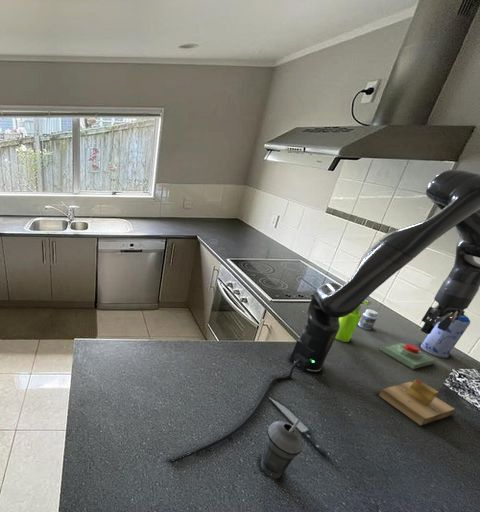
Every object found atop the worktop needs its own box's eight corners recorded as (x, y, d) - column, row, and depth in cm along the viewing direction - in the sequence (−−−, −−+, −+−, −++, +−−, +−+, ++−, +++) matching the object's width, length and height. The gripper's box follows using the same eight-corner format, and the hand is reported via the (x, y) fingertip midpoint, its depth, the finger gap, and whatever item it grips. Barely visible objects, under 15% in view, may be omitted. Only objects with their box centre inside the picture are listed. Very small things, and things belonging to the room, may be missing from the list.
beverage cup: (275, 453, 75) (299, 400, 67) (294, 484, 69) (323, 429, 61) (249, 453, 75) (270, 400, 67) (265, 484, 68) (290, 430, 60)
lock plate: (420, 425, 84) (425, 418, 83) (378, 395, 94) (382, 388, 93) (450, 415, 88) (455, 408, 87) (406, 387, 98) (411, 380, 96)
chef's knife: (275, 396, 92) (268, 397, 92) (276, 394, 92) (269, 395, 91) (332, 455, 75) (323, 457, 74) (334, 453, 75) (325, 455, 74)
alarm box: (412, 369, 106) (418, 361, 104) (382, 351, 115) (386, 343, 113) (431, 364, 109) (437, 356, 107) (400, 347, 118) (404, 339, 116)
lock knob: (429, 404, 88) (439, 391, 86) (426, 405, 87) (435, 392, 85) (409, 391, 92) (418, 378, 90) (406, 392, 92) (414, 379, 90)
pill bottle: (359, 327, 129) (367, 312, 126) (356, 322, 133) (363, 307, 130) (372, 331, 127) (380, 315, 124) (369, 325, 131) (376, 310, 128)
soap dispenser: (345, 344, 118) (364, 304, 110) (328, 334, 124) (346, 295, 116) (355, 342, 119) (375, 302, 111) (338, 332, 125) (356, 294, 118)
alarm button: (413, 354, 108) (415, 350, 108) (402, 348, 112) (404, 344, 111) (419, 352, 109) (421, 349, 109) (408, 346, 112) (410, 343, 112)
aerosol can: (452, 355, 114) (480, 314, 106) (442, 359, 111) (471, 318, 104) (425, 342, 121) (450, 303, 113) (416, 346, 118) (441, 306, 110)
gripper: (457, 300, 90) (433, 340, 96) (486, 295, 93) (461, 334, 99) (427, 288, 96) (406, 327, 103) (455, 284, 100) (433, 322, 106)
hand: (433, 330), depth 101 cm, fingers open, 8 cm apart
